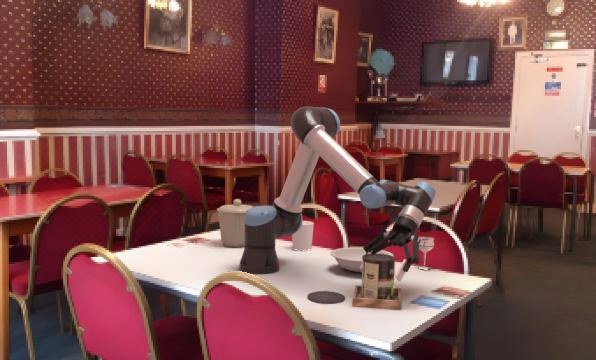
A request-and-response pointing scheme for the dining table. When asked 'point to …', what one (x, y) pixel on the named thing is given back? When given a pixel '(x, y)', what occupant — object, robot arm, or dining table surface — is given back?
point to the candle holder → (303, 236)
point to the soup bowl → (352, 257)
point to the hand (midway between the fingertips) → (379, 274)
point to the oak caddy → (376, 300)
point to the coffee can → (378, 276)
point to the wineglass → (426, 246)
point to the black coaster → (326, 297)
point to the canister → (233, 223)
